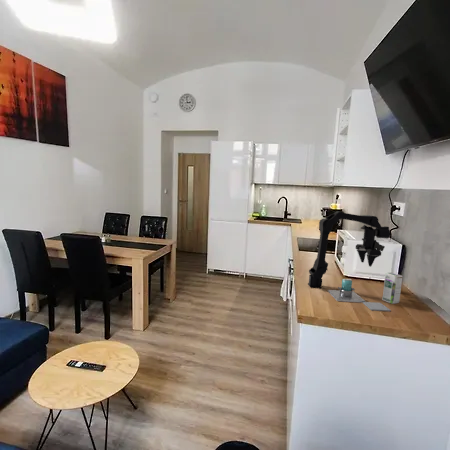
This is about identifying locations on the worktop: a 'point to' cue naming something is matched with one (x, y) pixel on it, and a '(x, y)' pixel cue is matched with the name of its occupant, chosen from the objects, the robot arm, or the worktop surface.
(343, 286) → the teal cylinder
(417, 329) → the worktop surface
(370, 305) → the coaster
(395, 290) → the syrup box
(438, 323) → the worktop surface
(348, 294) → the grey square plate
